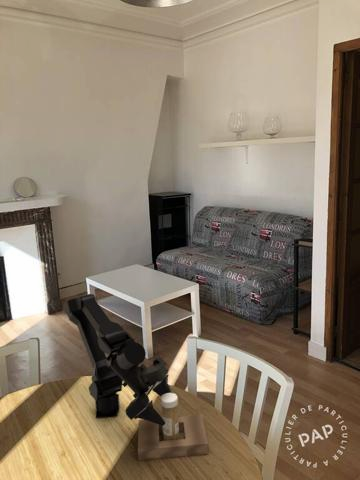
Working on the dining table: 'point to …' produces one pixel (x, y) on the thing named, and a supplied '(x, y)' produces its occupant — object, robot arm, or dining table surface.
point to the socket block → (174, 448)
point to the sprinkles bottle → (170, 416)
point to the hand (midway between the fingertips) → (170, 413)
